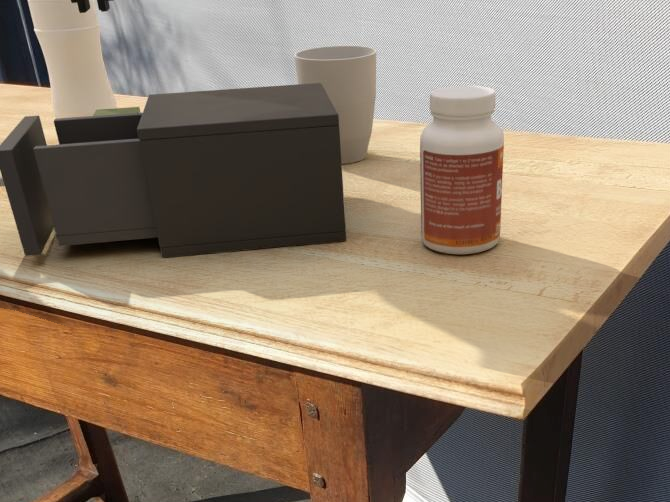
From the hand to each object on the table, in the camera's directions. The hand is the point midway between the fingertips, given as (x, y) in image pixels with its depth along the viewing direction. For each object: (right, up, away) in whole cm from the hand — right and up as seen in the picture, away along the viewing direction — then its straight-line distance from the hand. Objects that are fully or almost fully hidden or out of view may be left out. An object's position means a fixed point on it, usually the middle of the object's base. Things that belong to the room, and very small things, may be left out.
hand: (94, 9), depth 82 cm
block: (0, -12, +8) cm, 14 cm away
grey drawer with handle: (+4, -26, -13) cm, 29 cm away
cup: (+24, -13, +5) cm, 28 cm away
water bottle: (-6, -6, +18) cm, 19 cm away
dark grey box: (+17, -25, -11) cm, 32 cm away
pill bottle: (+35, -28, -17) cm, 48 cm away
